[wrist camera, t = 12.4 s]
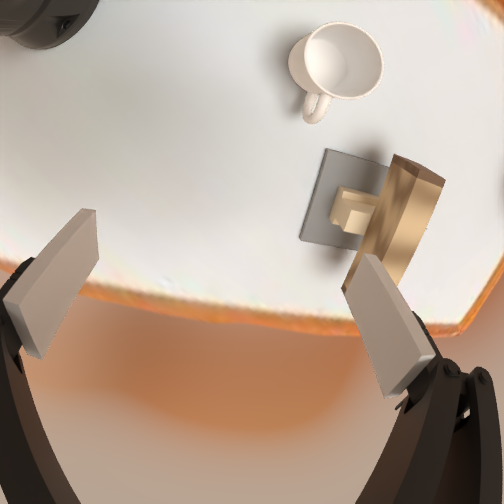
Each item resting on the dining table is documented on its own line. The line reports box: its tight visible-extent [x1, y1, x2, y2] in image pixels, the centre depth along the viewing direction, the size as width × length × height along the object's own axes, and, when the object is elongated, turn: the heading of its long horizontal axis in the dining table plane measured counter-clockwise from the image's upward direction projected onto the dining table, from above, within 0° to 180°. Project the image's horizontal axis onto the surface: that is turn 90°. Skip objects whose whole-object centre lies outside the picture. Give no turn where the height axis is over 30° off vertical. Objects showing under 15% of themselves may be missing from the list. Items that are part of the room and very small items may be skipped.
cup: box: [288, 22, 384, 124], centre depth 27 cm, size 8×12×10 cm
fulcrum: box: [299, 149, 389, 251], centre depth 39 cm, size 14×16×7 cm
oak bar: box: [341, 154, 446, 313], centre depth 33 cm, size 20×4×6 cm, turn 169°
